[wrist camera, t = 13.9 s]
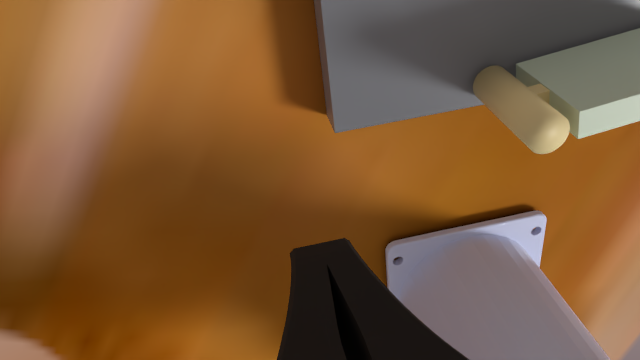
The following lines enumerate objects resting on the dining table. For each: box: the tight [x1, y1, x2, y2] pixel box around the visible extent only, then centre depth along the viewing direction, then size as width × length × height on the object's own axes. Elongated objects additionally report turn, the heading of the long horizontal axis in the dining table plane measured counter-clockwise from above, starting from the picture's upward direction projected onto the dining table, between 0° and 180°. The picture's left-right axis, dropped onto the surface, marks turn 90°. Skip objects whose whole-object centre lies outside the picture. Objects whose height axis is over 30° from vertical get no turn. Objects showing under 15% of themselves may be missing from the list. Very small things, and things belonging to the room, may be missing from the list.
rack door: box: [473, 28, 640, 154], centre depth 19 cm, size 8×1×4 cm, turn 103°
